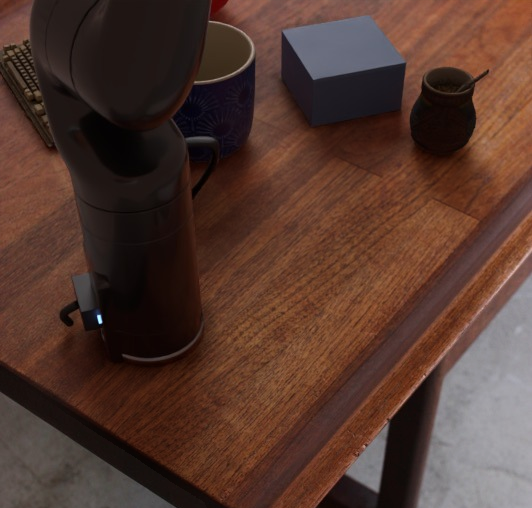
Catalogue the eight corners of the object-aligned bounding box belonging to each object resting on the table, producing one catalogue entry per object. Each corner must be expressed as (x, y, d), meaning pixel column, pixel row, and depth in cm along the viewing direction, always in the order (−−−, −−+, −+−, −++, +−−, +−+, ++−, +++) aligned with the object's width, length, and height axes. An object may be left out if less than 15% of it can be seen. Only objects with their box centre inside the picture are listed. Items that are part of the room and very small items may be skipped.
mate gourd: (411, 120, 108) (422, 39, 100) (478, 130, 107) (493, 48, 99) (400, 157, 104) (411, 75, 96) (470, 168, 102) (486, 85, 95)
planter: (266, 114, 109) (265, 25, 101) (245, 180, 101) (242, 89, 93) (162, 103, 110) (152, 14, 102) (133, 167, 103) (120, 77, 94)
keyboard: (-10, 57, 117) (-14, 42, 116) (59, 39, 120) (56, 24, 118) (47, 149, 105) (44, 134, 103) (123, 127, 107) (121, 111, 106)
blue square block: (311, 127, 107) (313, 79, 103) (281, 76, 114) (281, 29, 109) (401, 109, 109) (406, 62, 105) (366, 61, 116) (369, 14, 111)
